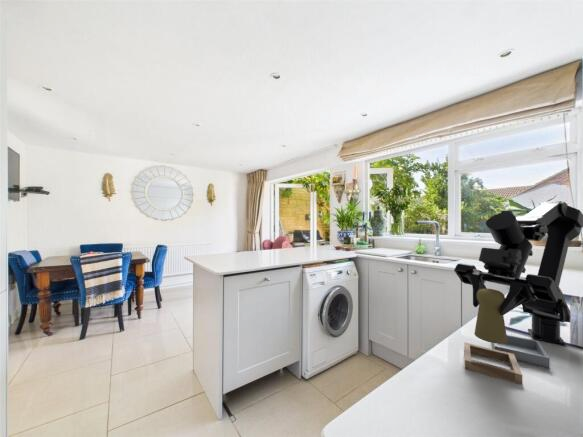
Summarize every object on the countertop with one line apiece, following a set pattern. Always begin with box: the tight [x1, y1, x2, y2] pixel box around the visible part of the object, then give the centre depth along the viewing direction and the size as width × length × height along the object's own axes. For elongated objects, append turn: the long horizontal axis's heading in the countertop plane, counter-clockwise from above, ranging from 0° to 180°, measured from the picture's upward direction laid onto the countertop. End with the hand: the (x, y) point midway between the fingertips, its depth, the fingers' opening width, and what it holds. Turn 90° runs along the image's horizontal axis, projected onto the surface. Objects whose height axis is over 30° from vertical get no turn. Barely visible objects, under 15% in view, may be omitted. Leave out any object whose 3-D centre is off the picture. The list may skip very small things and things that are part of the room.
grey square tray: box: [491, 333, 551, 370], centre depth 63 cm, size 10×10×2 cm
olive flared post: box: [474, 288, 508, 344], centre depth 58 cm, size 6×6×11 cm
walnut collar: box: [463, 342, 523, 386], centre depth 58 cm, size 10×10×2 cm
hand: (487, 309), depth 57 cm, fingers closed on olive flared post, 5 cm apart
